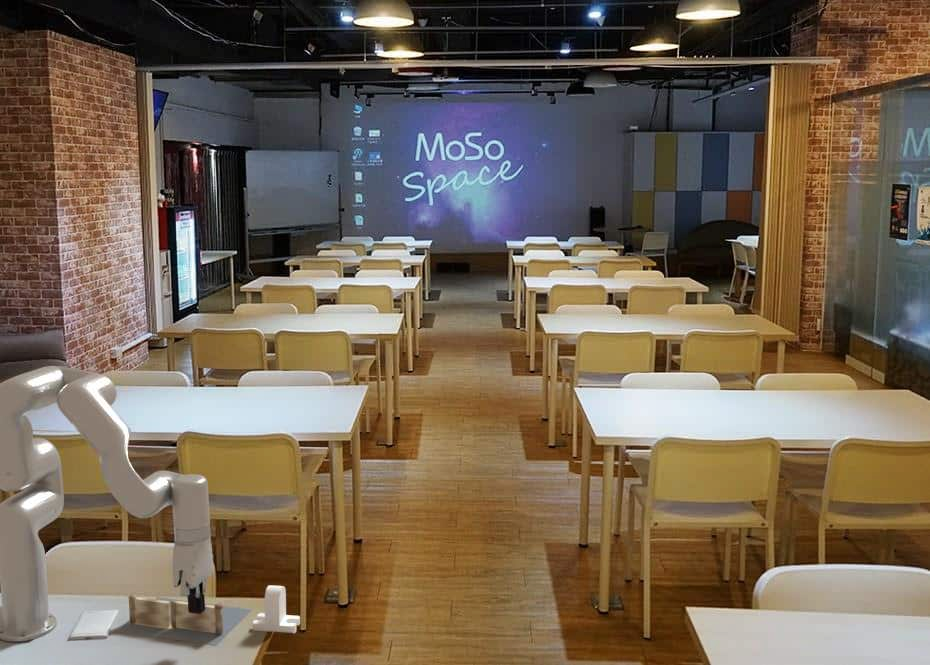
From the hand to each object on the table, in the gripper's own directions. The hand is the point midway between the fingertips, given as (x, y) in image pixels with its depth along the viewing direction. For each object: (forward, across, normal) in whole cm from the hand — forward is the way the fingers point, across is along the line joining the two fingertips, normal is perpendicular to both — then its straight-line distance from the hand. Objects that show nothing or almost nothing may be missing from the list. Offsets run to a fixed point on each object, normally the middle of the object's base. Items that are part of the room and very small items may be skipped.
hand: (196, 611), depth 212 cm
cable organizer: (+9, -13, +13) cm, 20 cm away
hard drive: (+8, -2, -27) cm, 29 cm away
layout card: (+8, -10, -9) cm, 16 cm away
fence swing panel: (+7, -6, -4) cm, 10 cm away
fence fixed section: (+8, -6, -16) cm, 18 cm away
